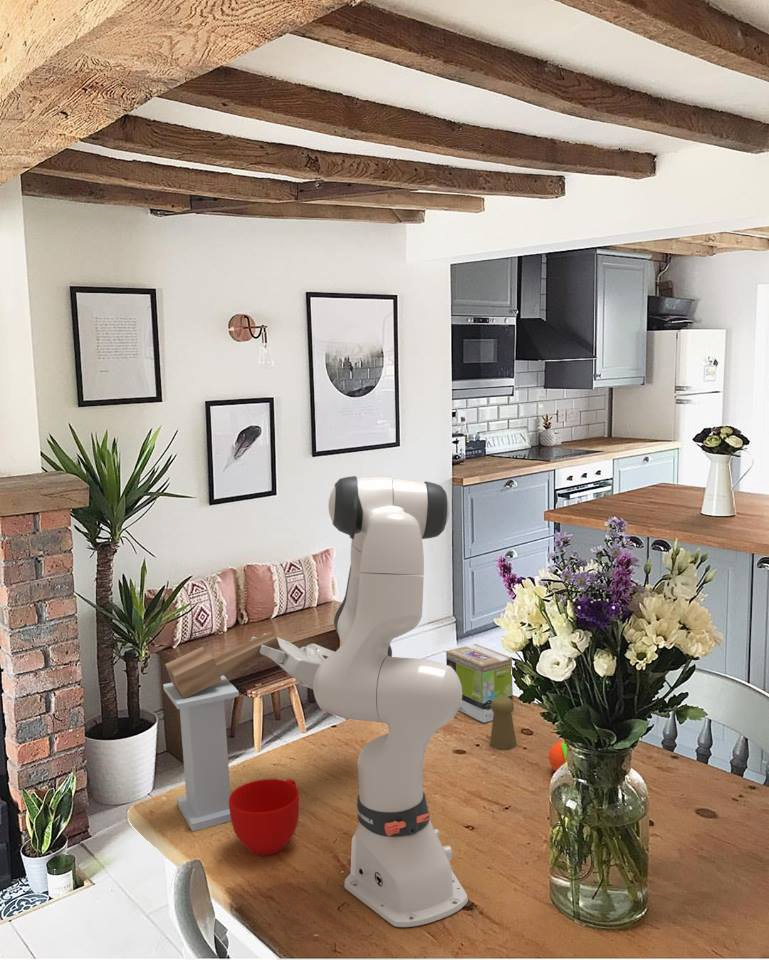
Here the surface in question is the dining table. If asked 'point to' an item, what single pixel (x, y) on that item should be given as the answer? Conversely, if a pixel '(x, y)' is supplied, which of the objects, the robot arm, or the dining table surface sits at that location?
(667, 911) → the dining table surface
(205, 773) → the painted stand
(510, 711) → the brown pawn
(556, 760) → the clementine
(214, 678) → the handled block
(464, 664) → the tea box
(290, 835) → the ceramic cup
